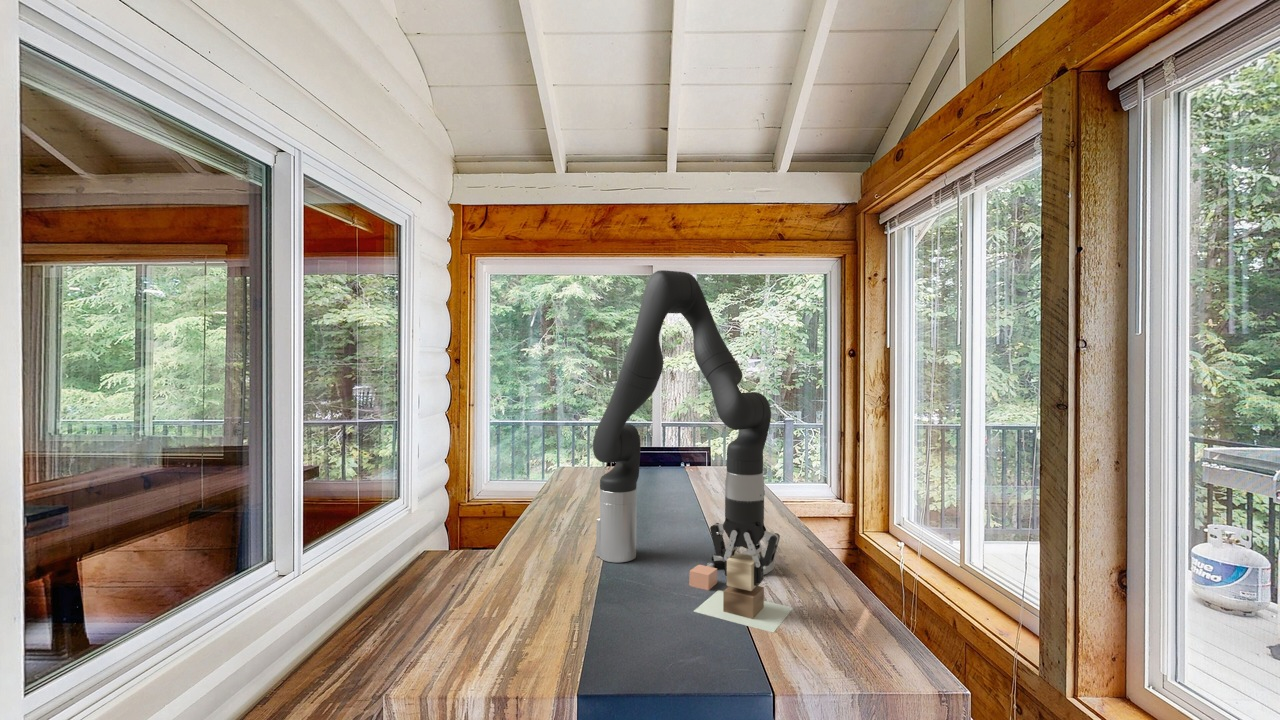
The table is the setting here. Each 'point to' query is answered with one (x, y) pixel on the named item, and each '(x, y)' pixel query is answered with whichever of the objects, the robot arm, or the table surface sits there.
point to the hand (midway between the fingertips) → (743, 581)
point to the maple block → (740, 571)
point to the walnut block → (743, 601)
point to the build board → (763, 620)
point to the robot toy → (720, 562)
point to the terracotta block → (703, 577)
